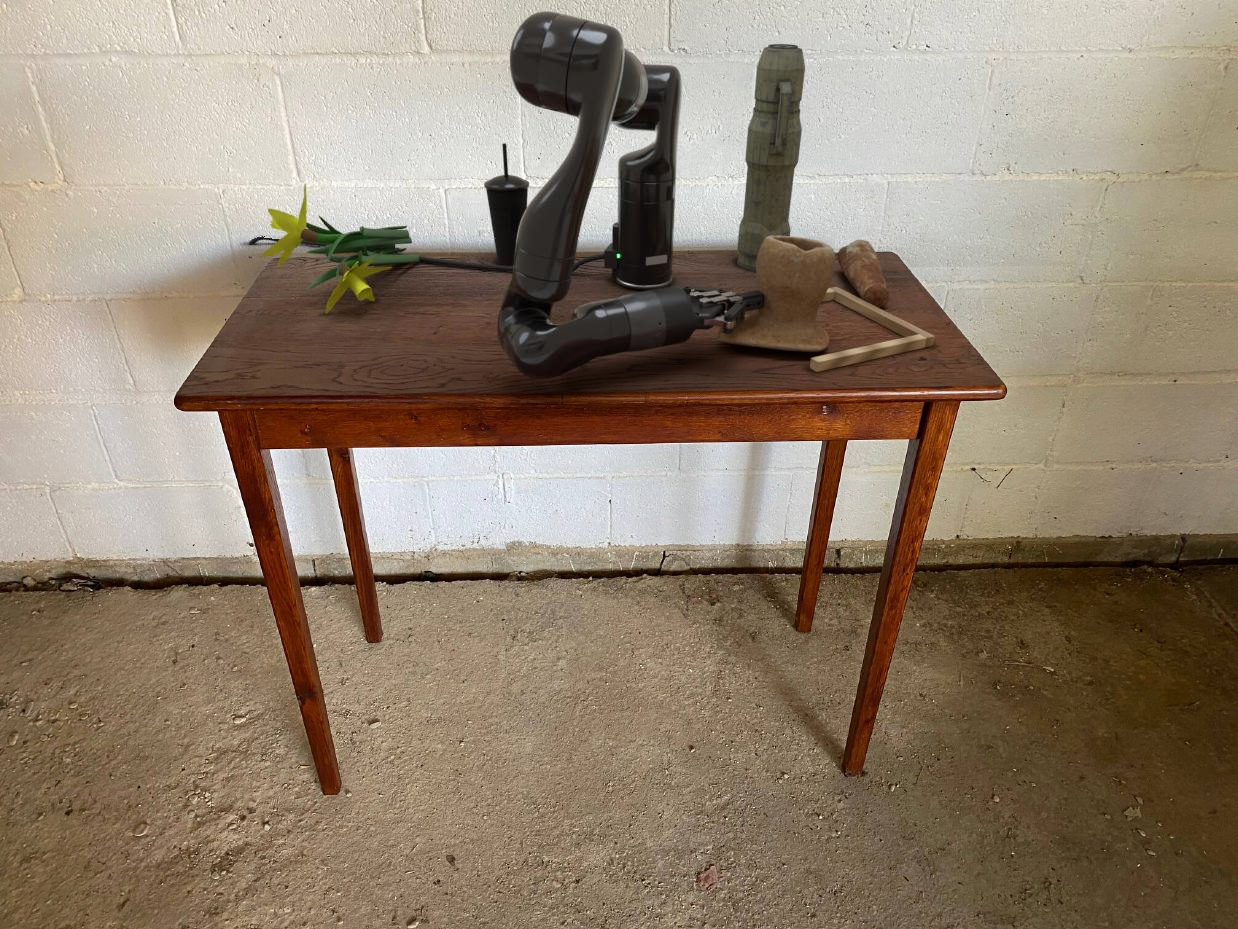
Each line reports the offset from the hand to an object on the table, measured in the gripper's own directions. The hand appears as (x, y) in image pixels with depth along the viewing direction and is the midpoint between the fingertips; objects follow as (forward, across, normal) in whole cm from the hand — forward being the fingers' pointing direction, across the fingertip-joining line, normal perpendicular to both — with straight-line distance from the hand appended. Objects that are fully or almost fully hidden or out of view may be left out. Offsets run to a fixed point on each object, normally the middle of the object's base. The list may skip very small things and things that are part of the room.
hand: (761, 298), depth 116 cm
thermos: (+20, +30, +7) cm, 37 cm away
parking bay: (+12, 0, +7) cm, 13 cm away
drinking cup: (-20, +49, +7) cm, 53 cm away
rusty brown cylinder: (+29, +11, +7) cm, 32 cm away
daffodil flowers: (-47, +46, +7) cm, 66 cm away
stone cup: (+3, 0, +7) cm, 8 cm away
